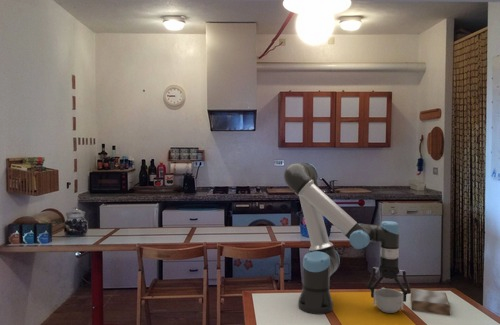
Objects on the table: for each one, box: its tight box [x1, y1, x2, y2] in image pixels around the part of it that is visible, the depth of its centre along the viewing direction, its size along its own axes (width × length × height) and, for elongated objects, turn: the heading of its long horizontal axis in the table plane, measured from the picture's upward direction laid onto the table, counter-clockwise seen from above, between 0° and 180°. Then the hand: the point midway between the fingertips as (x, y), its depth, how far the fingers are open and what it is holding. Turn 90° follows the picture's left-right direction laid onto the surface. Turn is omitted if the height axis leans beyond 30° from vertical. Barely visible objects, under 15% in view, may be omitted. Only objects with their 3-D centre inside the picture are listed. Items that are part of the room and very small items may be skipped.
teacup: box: [375, 287, 402, 314], centre depth 180 cm, size 14×11×8 cm
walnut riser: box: [410, 288, 451, 316], centre depth 185 cm, size 15×17×4 cm
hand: (388, 306), depth 180 cm, fingers closed on teacup, 11 cm apart
